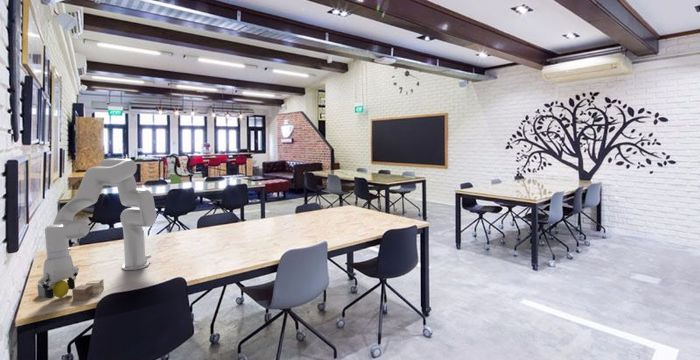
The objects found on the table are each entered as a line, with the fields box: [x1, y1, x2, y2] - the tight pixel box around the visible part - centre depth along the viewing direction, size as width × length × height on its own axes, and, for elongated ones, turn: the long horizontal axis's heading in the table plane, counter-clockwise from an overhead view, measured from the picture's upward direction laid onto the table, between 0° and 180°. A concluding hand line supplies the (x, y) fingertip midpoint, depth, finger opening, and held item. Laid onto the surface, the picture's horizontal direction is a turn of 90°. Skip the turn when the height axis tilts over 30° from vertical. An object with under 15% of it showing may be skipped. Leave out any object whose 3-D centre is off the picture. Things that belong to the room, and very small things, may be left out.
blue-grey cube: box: [37, 283, 54, 299], centre depth 162 cm, size 5×5×5 cm
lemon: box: [52, 280, 70, 299], centre depth 158 cm, size 6×6×8 cm
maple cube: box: [85, 278, 105, 295], centre depth 166 cm, size 5×5×5 cm
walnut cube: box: [71, 284, 94, 302], centre depth 159 cm, size 5×5×5 cm
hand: (60, 293), depth 158 cm, fingers open, 9 cm apart
